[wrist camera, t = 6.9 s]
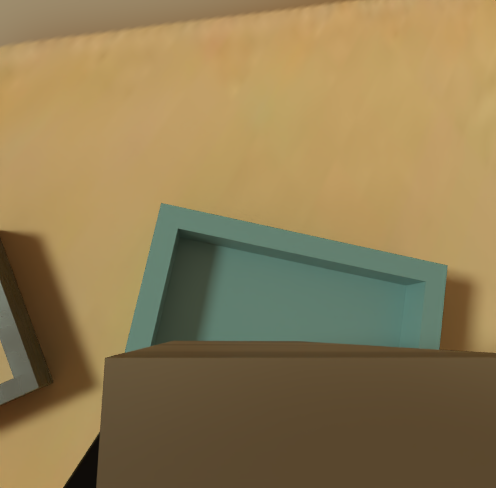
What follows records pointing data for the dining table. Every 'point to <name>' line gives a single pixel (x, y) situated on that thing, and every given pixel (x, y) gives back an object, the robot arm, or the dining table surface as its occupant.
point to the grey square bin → (18, 339)
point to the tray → (280, 288)
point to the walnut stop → (297, 416)
